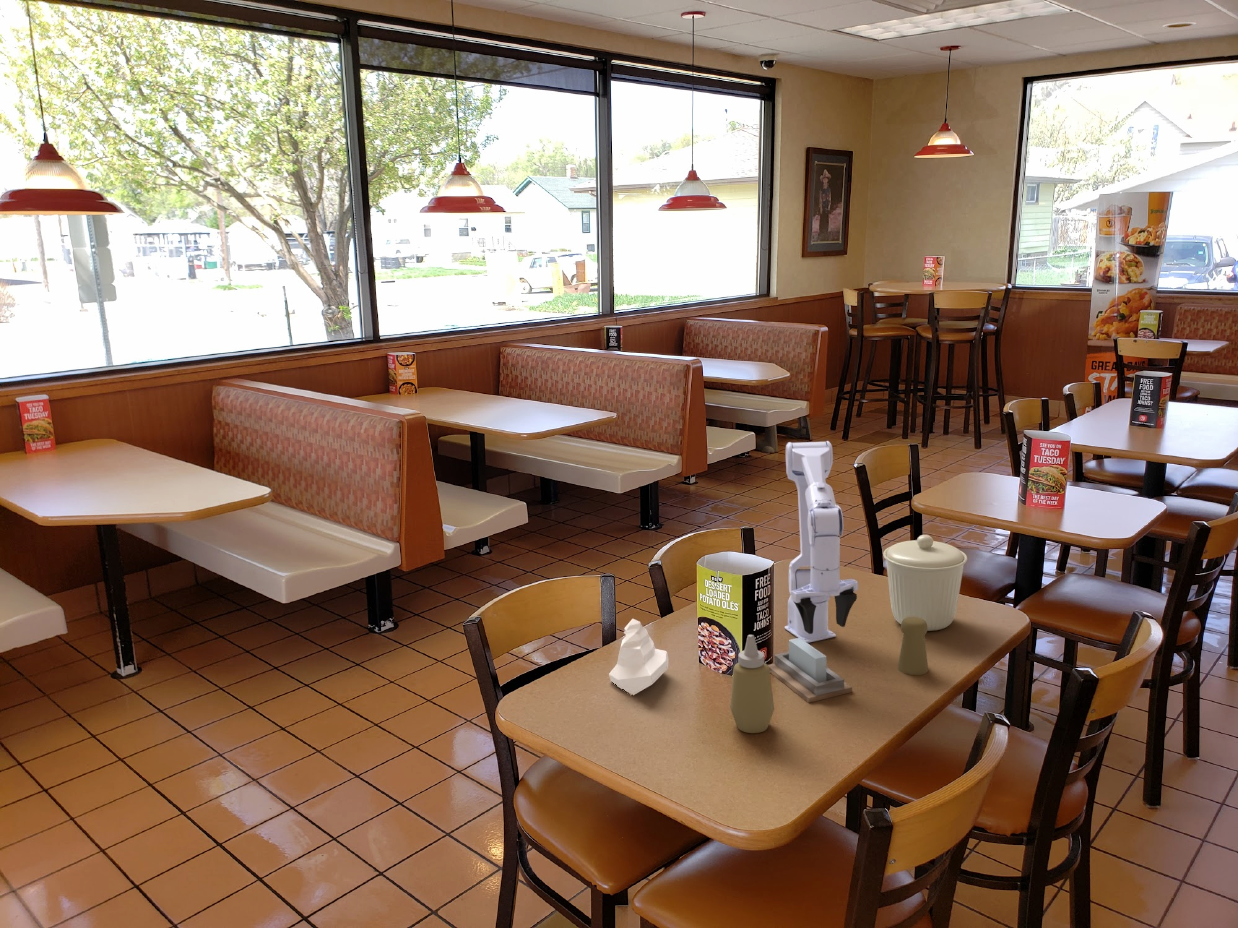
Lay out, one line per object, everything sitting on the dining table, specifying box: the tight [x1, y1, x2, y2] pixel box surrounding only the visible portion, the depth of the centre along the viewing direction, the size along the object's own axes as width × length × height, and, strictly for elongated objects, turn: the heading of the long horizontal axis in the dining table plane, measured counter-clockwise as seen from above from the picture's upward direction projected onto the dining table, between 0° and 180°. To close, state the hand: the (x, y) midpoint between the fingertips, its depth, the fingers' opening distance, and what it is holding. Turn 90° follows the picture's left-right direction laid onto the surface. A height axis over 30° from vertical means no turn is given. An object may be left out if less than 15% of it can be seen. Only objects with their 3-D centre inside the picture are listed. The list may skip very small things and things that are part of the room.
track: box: [767, 651, 853, 703], centre depth 186 cm, size 16×10×3 cm, turn 21°
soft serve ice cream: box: [608, 618, 670, 696], centre depth 188 cm, size 12×15×14 cm
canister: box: [882, 534, 968, 632], centre depth 209 cm, size 18×18×21 cm
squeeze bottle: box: [729, 634, 775, 734], centre depth 167 cm, size 8×8×18 cm
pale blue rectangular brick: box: [788, 637, 827, 683], centre depth 185 cm, size 10×2×6 cm, turn 21°
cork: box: [897, 617, 929, 676], centre depth 188 cm, size 6×6×11 cm
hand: (824, 628), depth 187 cm, fingers open, 7 cm apart
